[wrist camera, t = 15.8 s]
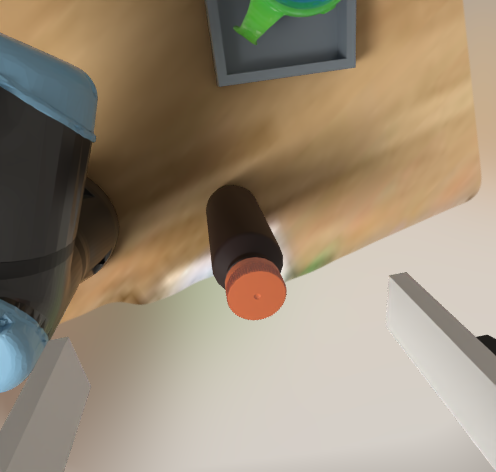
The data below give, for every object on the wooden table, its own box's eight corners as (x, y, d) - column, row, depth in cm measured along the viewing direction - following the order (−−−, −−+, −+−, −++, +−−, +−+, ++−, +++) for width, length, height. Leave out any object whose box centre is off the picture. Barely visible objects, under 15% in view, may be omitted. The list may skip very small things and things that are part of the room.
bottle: (213, 238, 47) (226, 338, 30) (199, 191, 44) (204, 272, 27) (261, 225, 48) (303, 317, 30) (251, 178, 45) (290, 249, 27)
